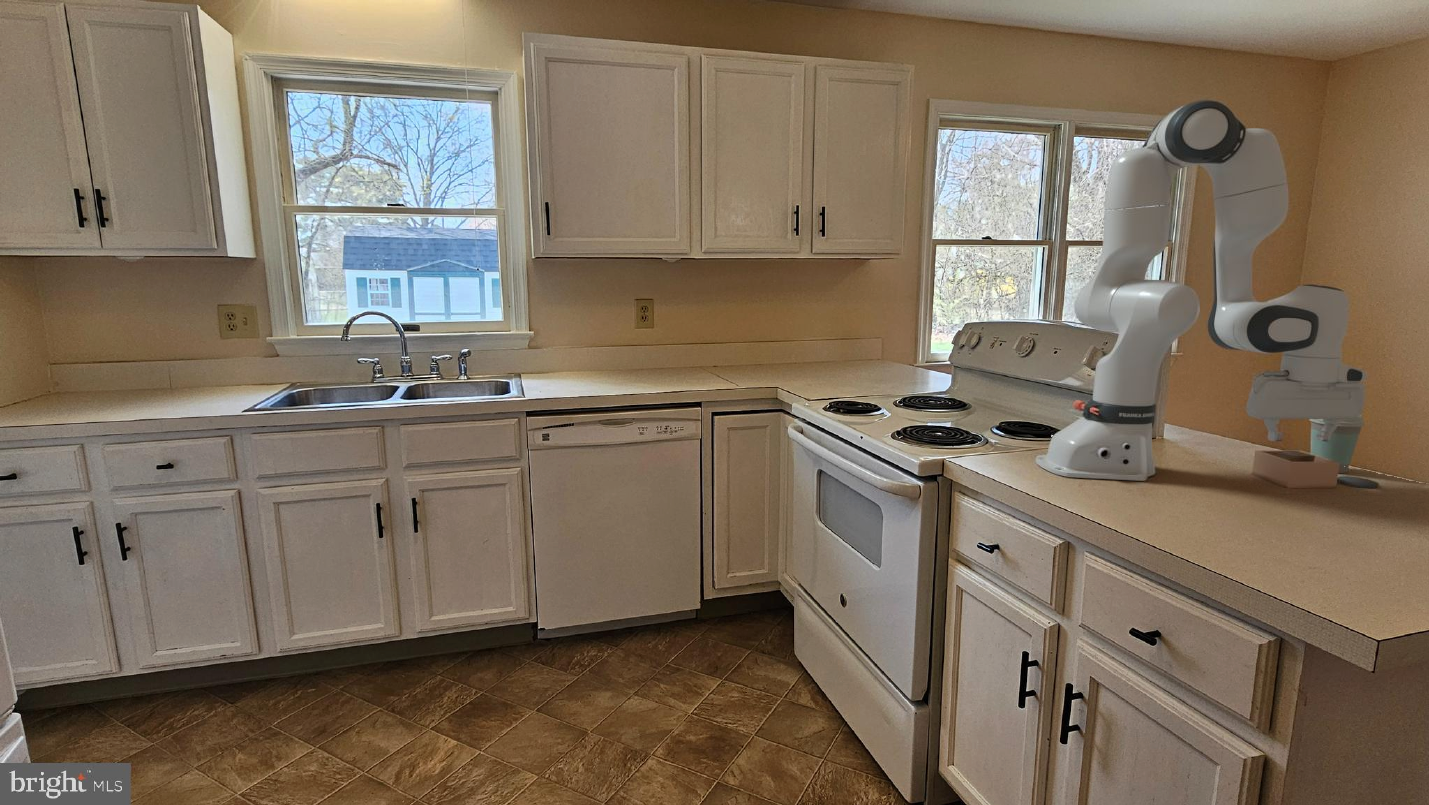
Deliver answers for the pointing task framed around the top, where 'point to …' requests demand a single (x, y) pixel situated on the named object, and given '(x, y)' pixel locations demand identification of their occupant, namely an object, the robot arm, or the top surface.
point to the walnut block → (1296, 456)
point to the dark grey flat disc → (1357, 482)
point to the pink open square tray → (1295, 470)
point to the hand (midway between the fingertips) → (1298, 440)
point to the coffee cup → (1337, 441)
